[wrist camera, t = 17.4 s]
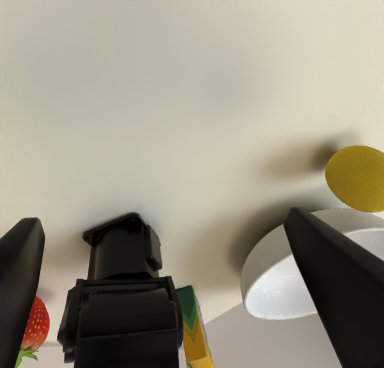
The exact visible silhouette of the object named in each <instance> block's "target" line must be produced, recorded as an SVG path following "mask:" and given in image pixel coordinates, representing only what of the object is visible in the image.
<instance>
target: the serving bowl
mask: <svg viewBox="0 0 384 368" xmlns="http://www.w3.org/2000/svg"><path fill="white" fill-rule="evenodd" d="M311 213H312V214H313V215H315V216H316V217H318V218H319V219H321V220H322V221H324V222H325V223H327V224H329V225H330V226H332V227H333V228H335V229H336V230H338V231H339V232H341V233H342V234H344V235H345V236H347V237H348V238H350V239H351V240H353V241H354V242H356V243H357V244H359V245H360V246H362V247H363V248H365V249H367V250H368V251H370V252H371V253H373V254H374V255H376V256H377V257H379V258H380V259H382V260H383V261H384V220H383V219H381V218H379V217H377V216H375V215H372V214H370V213H367V212H362V211H359V210H354V209H342V208H337V209H325V210H320V211H315V212H311ZM241 293H242V299H243V304H244V307H245V309H246V310H247V312H248V313H249V314H251V315H252V316H255V317H258V318H261V319H268V320H282V319H291V318H297V317H302V316H306V315H310V314H314V313H317V310H316V307H315V305H314V303H313V301H312V298H311V296H310V294H309V292H308V290H307V287H306V285H305V283H304V281H303V278H302V276H301V274H300V272H299V269H298V267H297V265H296V262H295V260H294V257H293V254H292V251H291V248H290V245H289V242H288V239H287V236H286V233H285V230H284V227H283V224H282V225H280V226H278V227H277V228H275V229H274V230H272V231H271V232H270V233H268V234H267V235H266V236H265V237H264V238H262V239H261V240H260V241H259V242H258V243H257V245H256V246H255V247H254V248H253V249H252V251H251V252H250V254H249V255H248V257H247V259H246V261H245V264H244V266H243V270H242V274H241Z"/></svg>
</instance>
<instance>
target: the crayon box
mask: <svg viewBox="0 0 384 368" xmlns="http://www.w3.org/2000/svg"><path fill="white" fill-rule="evenodd" d="M176 293H177V297H178V300H179V303H180V306H181V310H182V315H183V328H184V330H183V345H184V350H185V357H186V363H187V368H214V365H213V361H212V357H211V353H210V349H209V345H208V341H207V336H206V332H205V328H204V323H203V319H202V315H201V311H200V306H199V304H198V301H197V299H196V296H195V294H194V291H193V289H192V286H187V287H184V288H181V289H177V290H176Z"/></svg>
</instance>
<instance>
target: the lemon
mask: <svg viewBox="0 0 384 368" xmlns="http://www.w3.org/2000/svg"><path fill="white" fill-rule="evenodd" d="M325 177H326V181H327V184H328V186H329V188H330V190H331V191H332V192H333V193H334V194H335V195H336V196H337V197H338V198H339V199H340V200H341V201H342V202H343V203H345V204H346V205H348V206H350V207H351V208H354V209H356V210H359V211H362V212H371V213H373V212H381V211H384V153H383V152H381V151H379V150H376V149H374V148H371V147H368V146H350V147H346V148H344V149H341V150H340V151H338V152H337V153H335V154H334V155H333V156H332V157H331V158H330V160H329V161H328V163H327V166H326V170H325Z"/></svg>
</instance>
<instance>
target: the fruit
mask: <svg viewBox="0 0 384 368" xmlns="http://www.w3.org/2000/svg"><path fill="white" fill-rule="evenodd" d="M49 326H50V319H49V315H48V312H47V309H46V307H45V305H44V303H43V302H42V300H41V299H40V298H38V297H37V296H35V299H34V302H33V306H32V309H31V313H30V316H29V320H28V323H27V327H26V330H25V334H24V337H23V341H22V344H21V348H20V351H19V355H18V358H17V362H16V365H15V368H17V367H18V366H19V365H20V363H21V361H22V358H21V357H24V356H27V357H31V358H34V359H36V360H37V357H36V356H35V355H33V354H32V353H33V352H35V351H36V350H37V349H38V348H39V347H40V346H41V345H42V344H43V343H44V341H45V339H46V337H47V335H48V332H49Z"/></svg>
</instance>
